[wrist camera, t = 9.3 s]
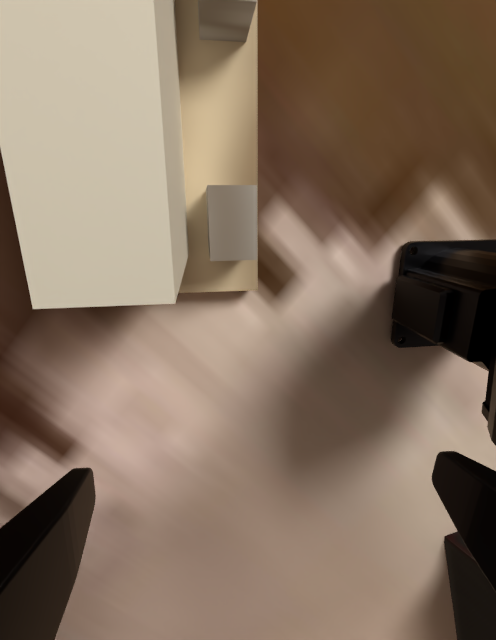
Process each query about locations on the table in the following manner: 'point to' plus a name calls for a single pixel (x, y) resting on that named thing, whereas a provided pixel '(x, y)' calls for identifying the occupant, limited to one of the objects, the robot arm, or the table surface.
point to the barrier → (469, 593)
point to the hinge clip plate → (219, 142)
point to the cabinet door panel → (94, 149)
